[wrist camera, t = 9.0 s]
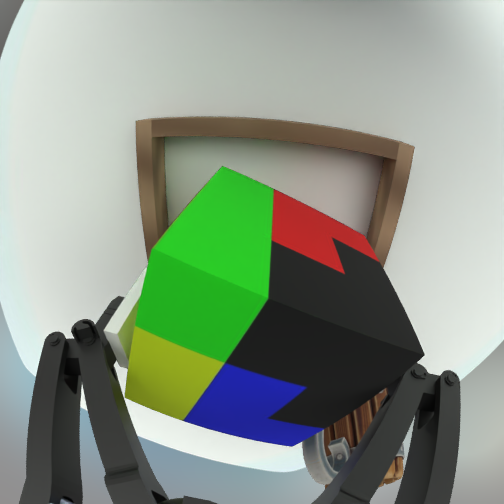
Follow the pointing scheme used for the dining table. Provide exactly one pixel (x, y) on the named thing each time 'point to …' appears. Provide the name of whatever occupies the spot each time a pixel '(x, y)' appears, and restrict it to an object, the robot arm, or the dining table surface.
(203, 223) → the puzzle toy
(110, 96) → the dining table surface
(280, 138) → the square wooden frame
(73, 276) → the dining table surface
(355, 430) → the mug
